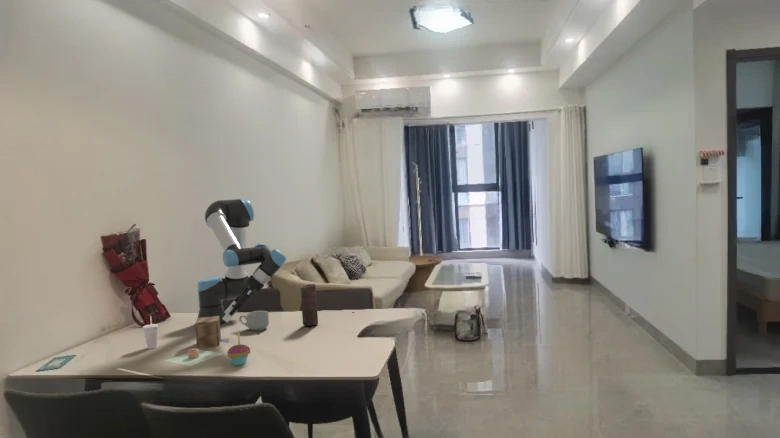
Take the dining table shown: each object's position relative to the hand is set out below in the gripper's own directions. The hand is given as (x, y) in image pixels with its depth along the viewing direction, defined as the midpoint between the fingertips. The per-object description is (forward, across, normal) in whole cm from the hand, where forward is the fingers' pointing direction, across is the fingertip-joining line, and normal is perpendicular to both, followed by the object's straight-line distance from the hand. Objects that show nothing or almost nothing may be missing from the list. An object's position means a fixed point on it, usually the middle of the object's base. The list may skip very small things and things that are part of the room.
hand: (225, 317), depth 227 cm
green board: (+17, -17, 0) cm, 24 cm away
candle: (-18, +15, -35) cm, 42 cm away
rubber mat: (+14, +1, -3) cm, 14 cm away
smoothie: (+31, +9, +15) cm, 36 cm away
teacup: (0, +20, -17) cm, 26 cm away
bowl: (+16, -17, +1) cm, 24 cm away
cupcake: (+4, -32, -13) cm, 34 cm away
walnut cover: (+13, +1, -2) cm, 14 cm away
